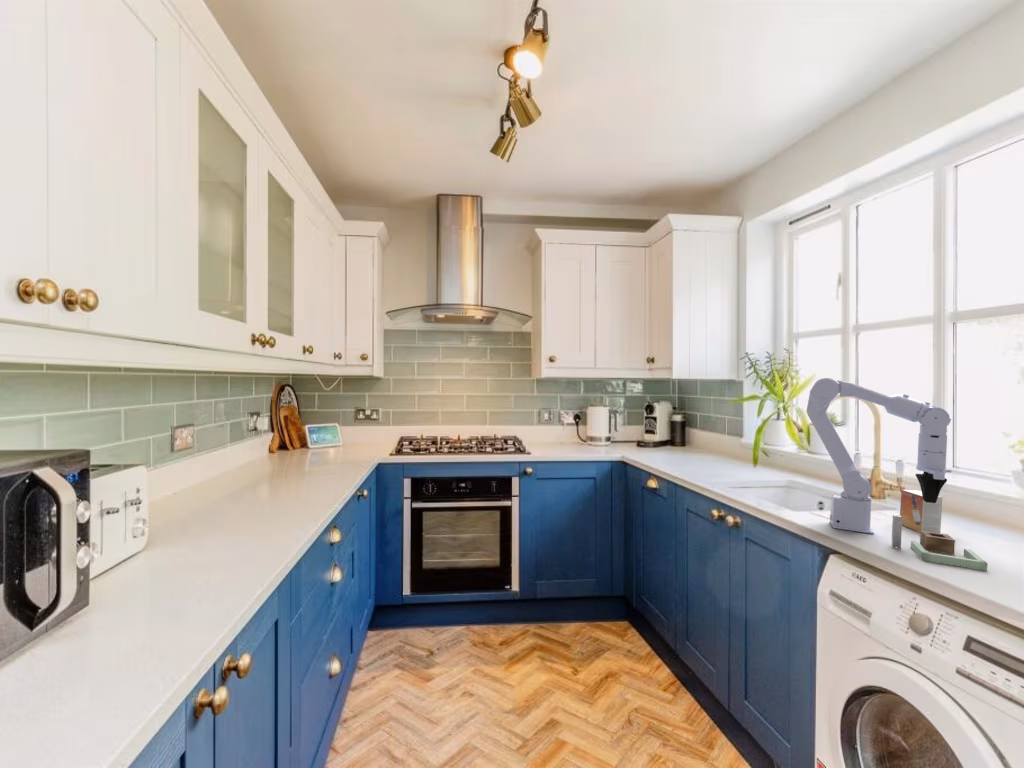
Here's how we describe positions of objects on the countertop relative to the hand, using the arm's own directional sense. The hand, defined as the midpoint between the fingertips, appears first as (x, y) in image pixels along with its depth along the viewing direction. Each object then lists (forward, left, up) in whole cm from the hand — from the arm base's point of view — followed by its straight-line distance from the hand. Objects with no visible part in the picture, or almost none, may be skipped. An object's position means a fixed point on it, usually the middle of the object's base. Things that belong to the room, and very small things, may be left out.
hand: (929, 501), depth 128 cm
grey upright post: (-9, -12, -10) cm, 18 cm away
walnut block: (0, -8, -10) cm, 13 cm away
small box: (+1, +12, -11) cm, 16 cm away
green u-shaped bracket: (0, -15, -10) cm, 18 cm away
